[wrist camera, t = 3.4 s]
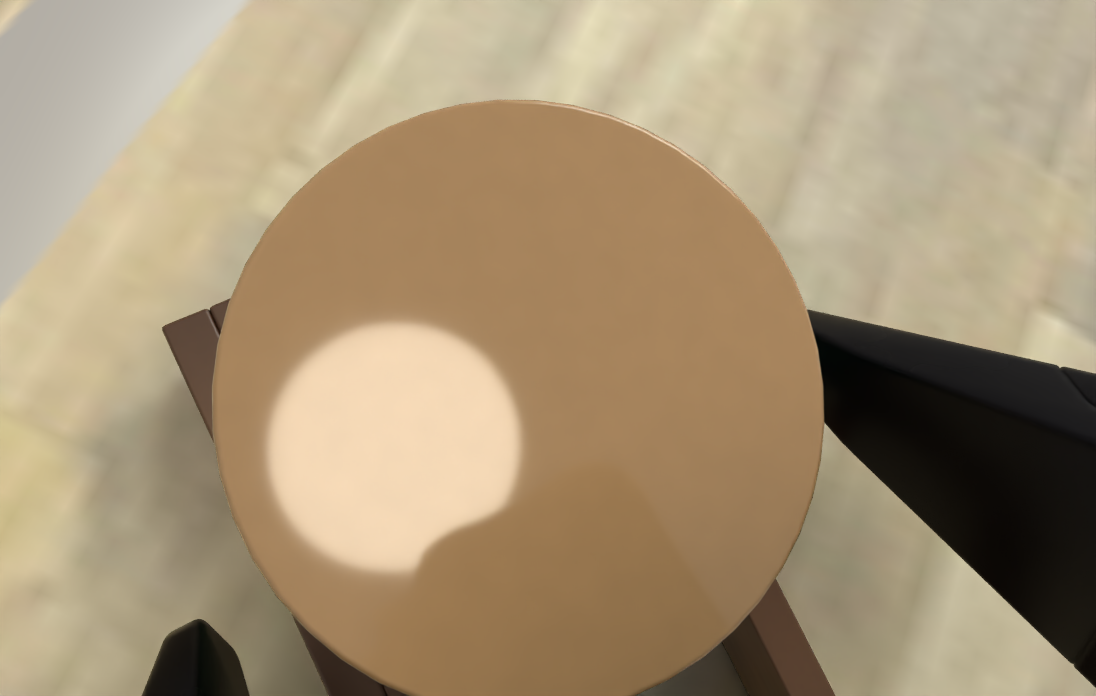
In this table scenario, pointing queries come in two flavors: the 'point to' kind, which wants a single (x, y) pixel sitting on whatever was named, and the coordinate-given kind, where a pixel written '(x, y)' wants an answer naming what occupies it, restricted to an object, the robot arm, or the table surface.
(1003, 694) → the table surface
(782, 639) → the rack
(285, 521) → the canister
